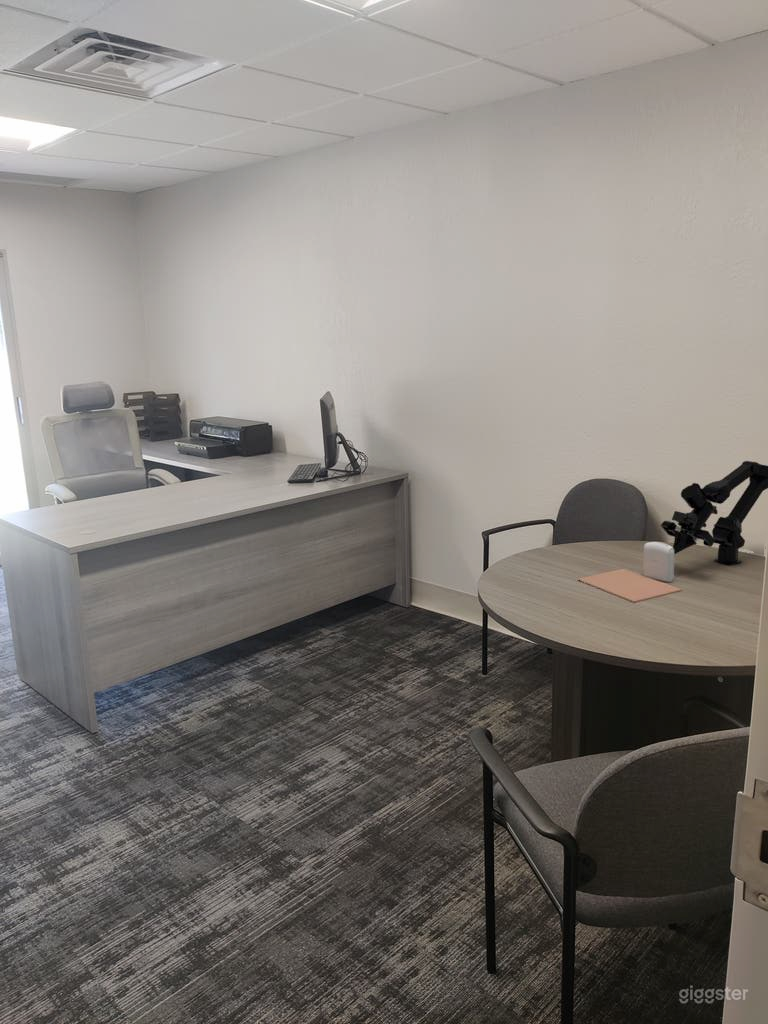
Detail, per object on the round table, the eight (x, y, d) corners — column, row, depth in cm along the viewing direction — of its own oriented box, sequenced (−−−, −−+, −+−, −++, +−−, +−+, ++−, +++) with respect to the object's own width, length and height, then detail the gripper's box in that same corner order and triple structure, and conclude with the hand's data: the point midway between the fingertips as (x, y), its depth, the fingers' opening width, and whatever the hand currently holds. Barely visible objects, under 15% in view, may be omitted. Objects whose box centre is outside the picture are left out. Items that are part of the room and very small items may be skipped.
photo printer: (640, 576, 259) (641, 541, 256) (647, 573, 261) (649, 538, 259) (668, 583, 251) (670, 547, 248) (675, 580, 254) (677, 544, 251)
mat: (623, 570, 266) (623, 568, 266) (681, 590, 244) (681, 589, 243) (577, 580, 258) (577, 578, 258) (634, 602, 235) (634, 601, 235)
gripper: (665, 497, 264) (640, 533, 262) (710, 507, 247) (683, 545, 245) (681, 516, 269) (656, 552, 267) (725, 527, 253) (700, 565, 250)
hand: (673, 553), depth 257 cm, fingers closed
